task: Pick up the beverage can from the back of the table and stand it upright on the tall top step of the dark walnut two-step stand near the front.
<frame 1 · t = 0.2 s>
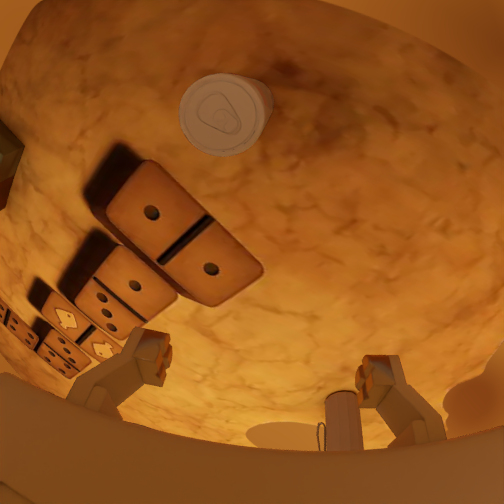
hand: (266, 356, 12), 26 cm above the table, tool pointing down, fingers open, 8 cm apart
water bottle: (337, 398, 56), on the table
beverage can: (248, 102, 30), on the table
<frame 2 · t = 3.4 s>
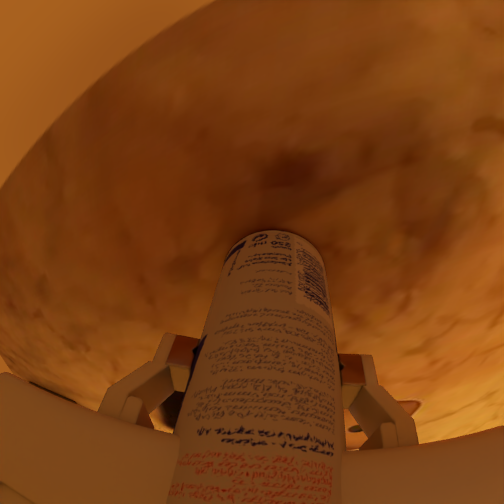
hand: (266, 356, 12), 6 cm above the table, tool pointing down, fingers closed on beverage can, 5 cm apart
beverage can: (274, 268, 17), on the table, touching gripper
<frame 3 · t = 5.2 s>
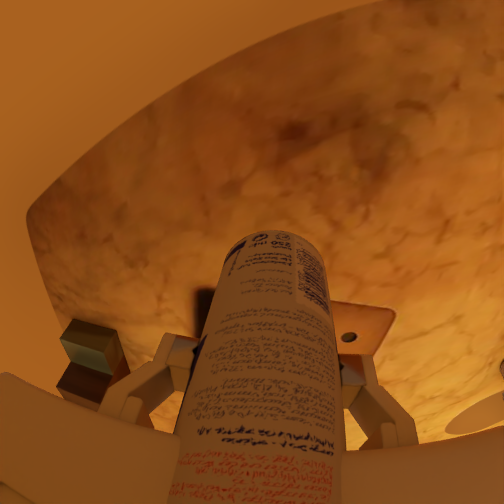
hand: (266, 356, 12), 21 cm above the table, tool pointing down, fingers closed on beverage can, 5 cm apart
beverage can: (274, 268, 17), point 14 cm above the table, touching gripper
stand: (103, 351, 48), on the table
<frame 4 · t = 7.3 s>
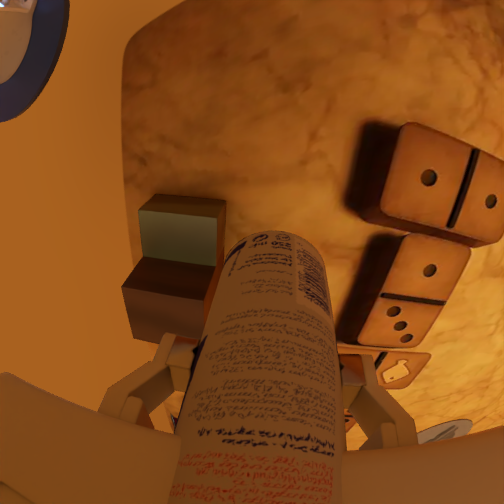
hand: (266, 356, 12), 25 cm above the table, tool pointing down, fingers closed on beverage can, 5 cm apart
plate: (432, 441, 67), on the table
beverage can: (274, 269, 17), point 18 cm above the table, touching gripper
stand: (190, 247, 39), on the table
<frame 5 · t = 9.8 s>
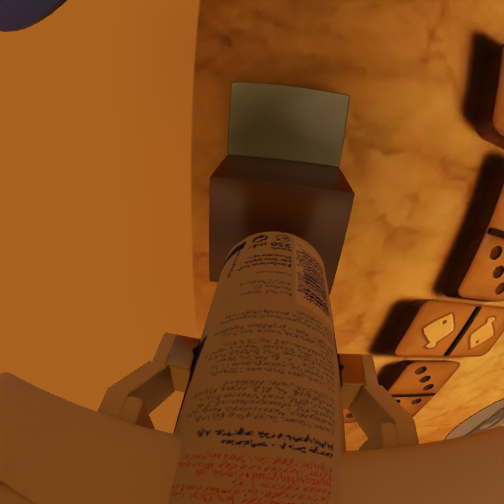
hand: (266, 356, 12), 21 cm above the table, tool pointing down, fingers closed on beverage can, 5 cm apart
plate: (485, 421, 56), on the table
beverage can: (274, 269, 17), point 14 cm above the table, touching gripper
stand: (282, 157, 28), on the table
when the fingers open (17 cm above the table, at t = 11.4 s): beverage can stays where it is, resting on stand.
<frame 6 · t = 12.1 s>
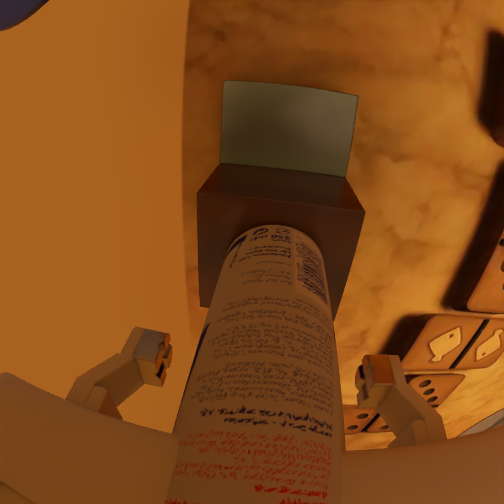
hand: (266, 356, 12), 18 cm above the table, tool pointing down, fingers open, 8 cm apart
plate: (488, 429, 53), on the table
beverage can: (274, 262, 18), point 11 cm above the table, touching stand
stand: (282, 164, 25), on the table
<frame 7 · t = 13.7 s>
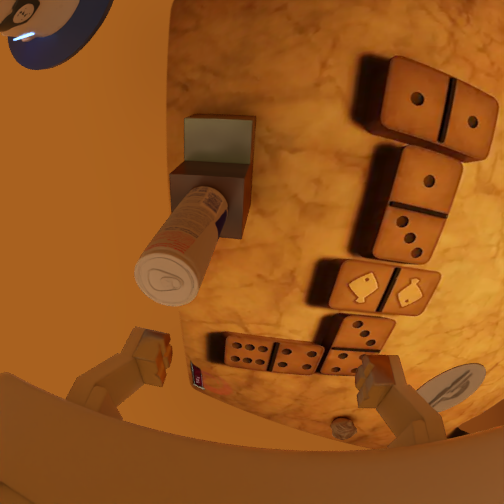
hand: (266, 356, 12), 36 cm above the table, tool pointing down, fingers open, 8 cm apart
plate: (448, 391, 72), on the table
seashell: (343, 420, 81), on the table
beverage can: (206, 206, 36), point 11 cm above the table, touching stand
stand: (223, 160, 44), on the table
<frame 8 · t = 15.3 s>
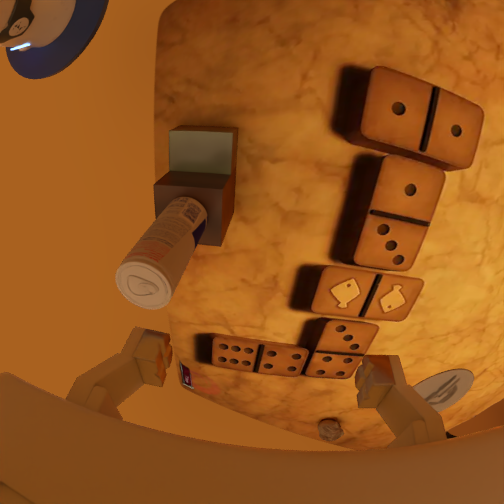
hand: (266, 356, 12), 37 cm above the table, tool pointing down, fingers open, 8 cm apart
plate: (435, 395, 74), on the table
seashell: (330, 422, 83), on the table
beverage can: (187, 215, 38), point 11 cm above the table, touching stand
stand: (207, 169, 46), on the table
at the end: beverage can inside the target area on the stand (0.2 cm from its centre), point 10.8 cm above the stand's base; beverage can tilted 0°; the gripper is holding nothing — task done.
